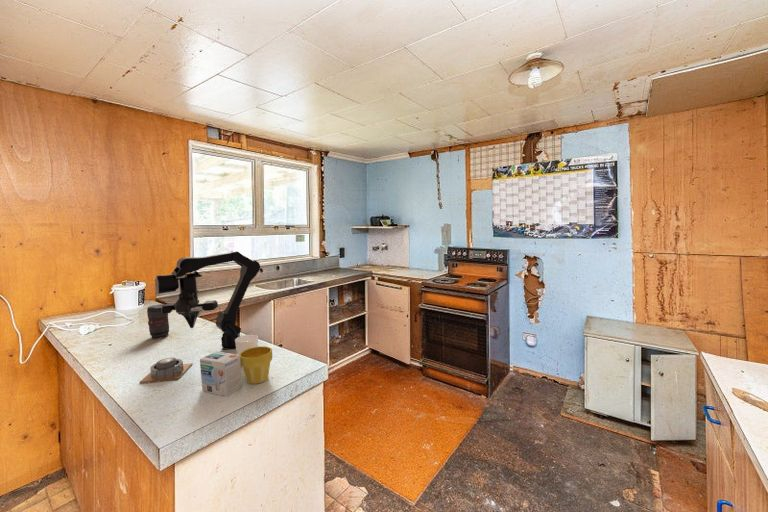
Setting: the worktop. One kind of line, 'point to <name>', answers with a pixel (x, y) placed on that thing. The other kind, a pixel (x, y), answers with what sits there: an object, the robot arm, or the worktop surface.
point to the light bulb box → (221, 373)
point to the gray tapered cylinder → (166, 363)
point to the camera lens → (157, 322)
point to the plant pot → (256, 363)
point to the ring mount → (166, 372)
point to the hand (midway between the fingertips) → (192, 327)
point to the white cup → (246, 342)
